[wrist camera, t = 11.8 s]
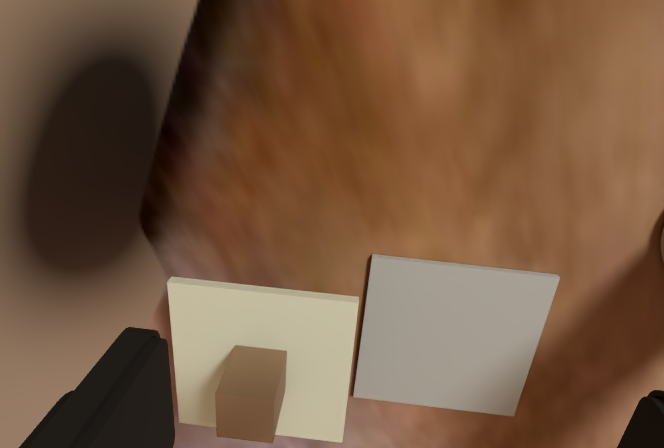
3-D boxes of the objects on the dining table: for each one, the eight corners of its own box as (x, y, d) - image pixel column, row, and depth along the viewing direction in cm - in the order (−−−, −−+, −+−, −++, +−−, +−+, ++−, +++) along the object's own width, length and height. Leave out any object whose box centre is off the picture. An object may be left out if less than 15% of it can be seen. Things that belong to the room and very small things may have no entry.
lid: (358, 296, 33) (356, 348, 28) (342, 434, 39) (338, 499, 33) (171, 276, 33) (134, 323, 28) (182, 415, 39) (153, 476, 34)
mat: (557, 274, 39) (559, 277, 38) (511, 411, 45) (513, 416, 45) (372, 254, 39) (372, 257, 39) (353, 392, 46) (353, 396, 45)
